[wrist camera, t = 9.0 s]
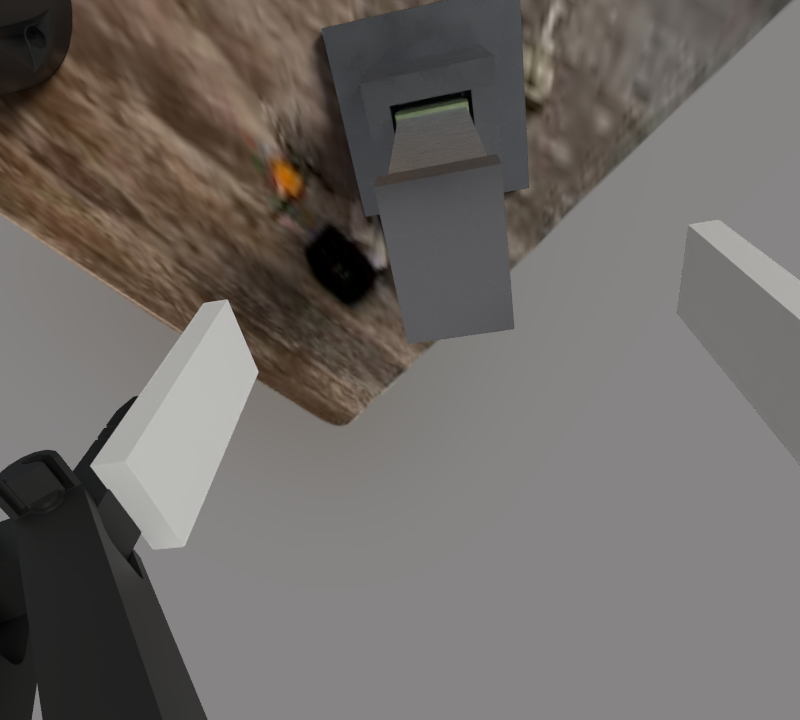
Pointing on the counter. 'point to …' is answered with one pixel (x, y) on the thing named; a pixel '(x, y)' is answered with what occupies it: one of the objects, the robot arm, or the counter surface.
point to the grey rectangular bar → (445, 224)
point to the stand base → (431, 80)
